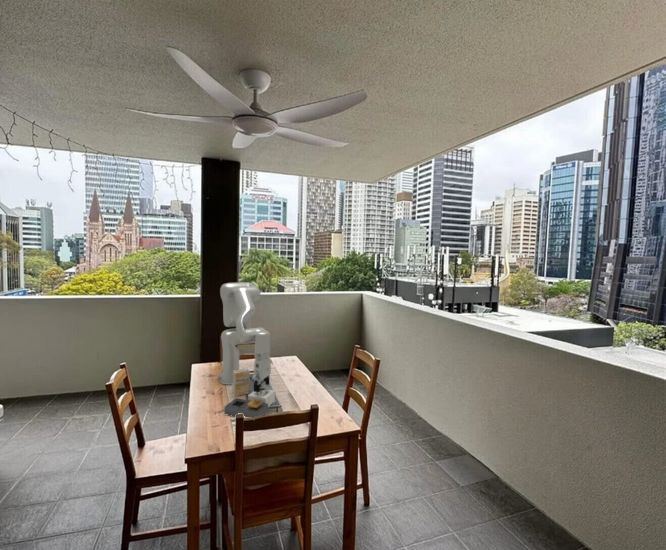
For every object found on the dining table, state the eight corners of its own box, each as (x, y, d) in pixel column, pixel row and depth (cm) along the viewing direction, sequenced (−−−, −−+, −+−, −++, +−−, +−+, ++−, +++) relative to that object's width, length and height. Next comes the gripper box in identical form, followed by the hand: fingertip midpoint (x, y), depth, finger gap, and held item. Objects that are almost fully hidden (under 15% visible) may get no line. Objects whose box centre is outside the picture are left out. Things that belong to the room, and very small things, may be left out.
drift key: (247, 413, 161) (247, 403, 160) (253, 409, 165) (253, 399, 165) (256, 415, 159) (256, 405, 159) (262, 410, 164) (262, 400, 164)
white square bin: (247, 406, 170) (247, 395, 170) (258, 398, 180) (258, 387, 180) (265, 410, 167) (265, 398, 167) (274, 401, 177) (275, 390, 177)
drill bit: (256, 405, 173) (256, 382, 172) (260, 402, 176) (260, 379, 175) (263, 406, 171) (263, 383, 171) (266, 403, 175) (266, 380, 174)
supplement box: (234, 397, 182) (234, 373, 181) (232, 393, 186) (232, 370, 185) (249, 394, 186) (249, 370, 185) (247, 390, 190) (247, 368, 189)
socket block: (224, 414, 162) (224, 406, 161) (236, 405, 171) (236, 398, 171) (257, 421, 156) (257, 412, 156) (268, 411, 166) (268, 403, 166)
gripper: (260, 361, 163) (259, 395, 164) (276, 351, 179) (276, 382, 180) (246, 359, 165) (246, 393, 166) (264, 349, 181) (263, 380, 183)
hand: (261, 387), depth 173 cm, fingers open, 9 cm apart
